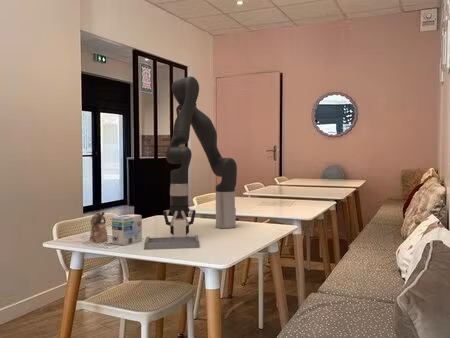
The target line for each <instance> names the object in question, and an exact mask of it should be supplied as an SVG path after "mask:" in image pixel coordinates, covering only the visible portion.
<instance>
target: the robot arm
mask: <svg viewBox="0 0 450 338" xmlns="http://www.w3.org/2000/svg"><path fill="white" fill-rule="evenodd" d="M171 91H172V92H171V93H172V95H173V96H174V98H175V101H176V102H177V103H178V105H179V106H180V108H181V109H180V111H179V112H178V114H177V116H176V118H175V120H174V123H173V131H172V137H171V140H170V142H169V145H168V147H167V149H166V153H165V159H166V161H167V162H168V163H169V164H172V165H173V164H175V165H177V164H181V166H180V167H179V168H176V169H172V170H171V171H170V187H169V195H170V200H169V203H170V207H169V209H166V210H165V209H164V210H163V211H162V212H163V218H164V222H165V225H167V226H169V228H170V234H171V236H174V220H175V219H179V218H181V219H183V218H184V220H186V236H187V235H188V234H189V233H190V226H191V225H193V224H194V221H195V218H196V209H190V207H189V186H188V185H189V184H188V174H189V168H190V163H191V161H192V155H193V154H192V151H191V149H190V147H188V146H181V145H184V144H187V143H188V142H189V139H190V131H191V127H192V129H193V132H194V134H195V137H196V138H197V139H198V141H199V143H200V144H201V147H202V149H203V151H204V153H205V155H206V158H207V161H208V163H209V166H210V168H211V171H212V173H213V174H214V175H215V176H216V177H219V178H221V181H220V182H219V183H218V184H217V185H215V228H218V229H232V228H233V227H234V228H236V227H237V224H236V221H237V215H236V212H237V211H236V208H237V207H236V199H235V198H236V193H235V192H236V185H237V179H238V177H237V174H238V167H237V163H236V160H235V159H234V158H231V157H223V156H222V155H221V153H220V150H219V149H218V145H217V142H218V134H217V129H216V128H215V126H214V124H213V122H212V120H211V119H210V117H209V116H208V115H206V114H205V113H204V112H203V111H201V110H200V109H199V108H198V107H196V104H197V100H198V98H199V93H200V84H199V81H198V80H197V78H195V77H194V76H186V77H183V78H180V79H177V80H175V81H173V82H172V84H171ZM189 213H190V215H191V217H190V220H189V221H188V218H187V215H188V214H189ZM169 214H170V215H171V216H172V218H171V221H169V217H168V216H169Z"/></svg>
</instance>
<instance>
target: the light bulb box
mask: <svg viewBox="0 0 450 338" xmlns="http://www.w3.org/2000/svg"><path fill="white" fill-rule="evenodd" d="M142 217H143V216H142V215H141V214H133V213H129V214H128V213H127V214H124V215H118V216H112V217H111V239H112V241H111V242H112V245H113V244H114V245H119V246H127V245H128V246H129V245H131V244H135V243H139V242H142V241H143V230H142V229H143V228H142V227H143V222H142V221H143V218H142Z"/></svg>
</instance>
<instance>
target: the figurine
mask: <svg viewBox="0 0 450 338" xmlns="http://www.w3.org/2000/svg"><path fill="white" fill-rule="evenodd" d="M105 214H106V212H104V211H102V212H101V213H100V212H99V211H98V212H95V213H94V214H93V215H92V217H91V220H90V221H89V222H90V226H91V229H90V236H89V241H90V242H94V243H93V244H100V243H99V242H103V243H106V242H107V241H108V238H109V237H108V231H107V227H106V225H105V224H106V220H107V219H106V217H104V215H105ZM102 220H103V222H102ZM105 241H106V242H105ZM90 242H89V243H90Z"/></svg>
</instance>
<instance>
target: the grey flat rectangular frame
mask: <svg viewBox="0 0 450 338" xmlns="http://www.w3.org/2000/svg"><path fill="white" fill-rule="evenodd" d="M143 246H144V250H164V249H165V250H169V249H195V248H196V249H199V248H200V238H199V235H198V234H195V235H193V236H186V237H174V236H167V237H165V236H164V237H150V236H146V237H145V240H144V242H143Z"/></svg>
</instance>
